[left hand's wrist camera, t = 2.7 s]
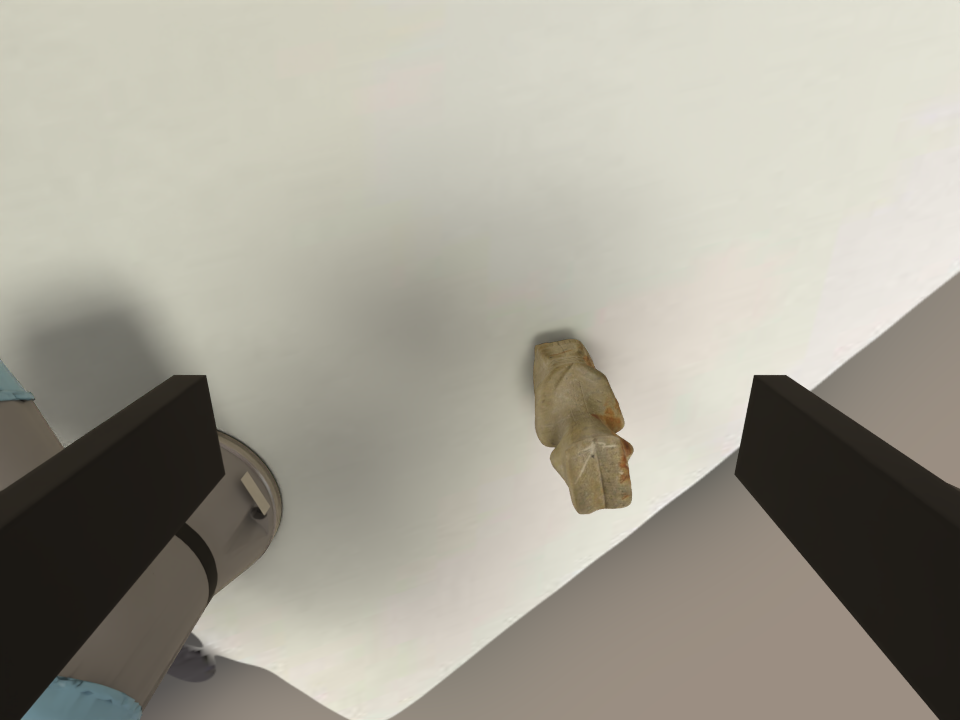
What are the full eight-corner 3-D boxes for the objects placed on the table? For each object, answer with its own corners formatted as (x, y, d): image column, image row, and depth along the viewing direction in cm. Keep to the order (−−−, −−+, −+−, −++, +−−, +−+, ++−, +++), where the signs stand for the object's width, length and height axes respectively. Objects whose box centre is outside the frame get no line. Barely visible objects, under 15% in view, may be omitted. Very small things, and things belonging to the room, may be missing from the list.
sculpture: (528, 414, 44) (551, 529, 30) (519, 334, 42) (540, 418, 28) (596, 406, 44) (652, 518, 30) (592, 325, 41) (649, 405, 27)
